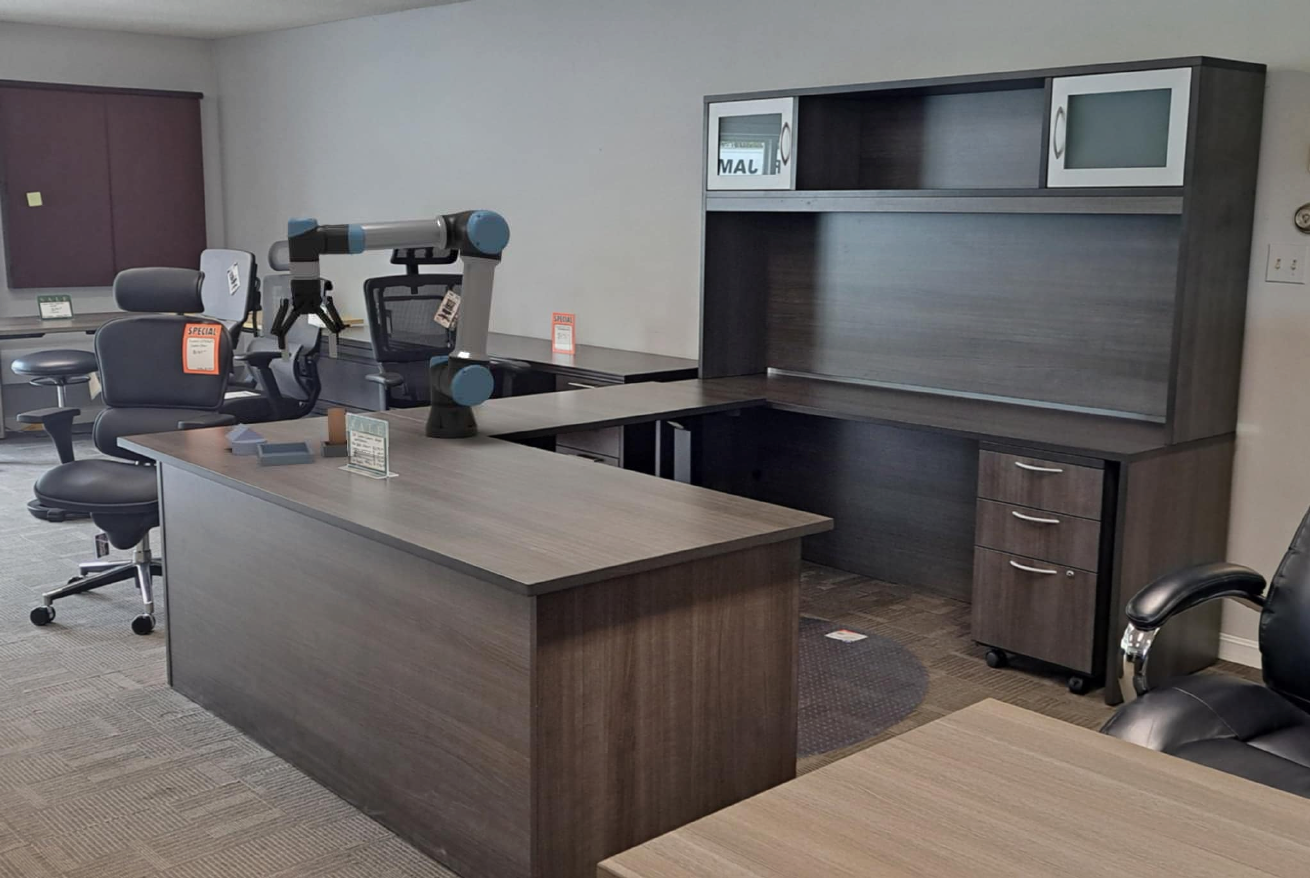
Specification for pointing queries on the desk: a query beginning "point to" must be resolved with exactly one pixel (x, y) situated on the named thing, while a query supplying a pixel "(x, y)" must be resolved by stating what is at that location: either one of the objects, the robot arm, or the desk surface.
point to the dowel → (336, 426)
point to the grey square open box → (333, 450)
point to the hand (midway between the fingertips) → (310, 359)
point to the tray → (284, 454)
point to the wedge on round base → (245, 440)
